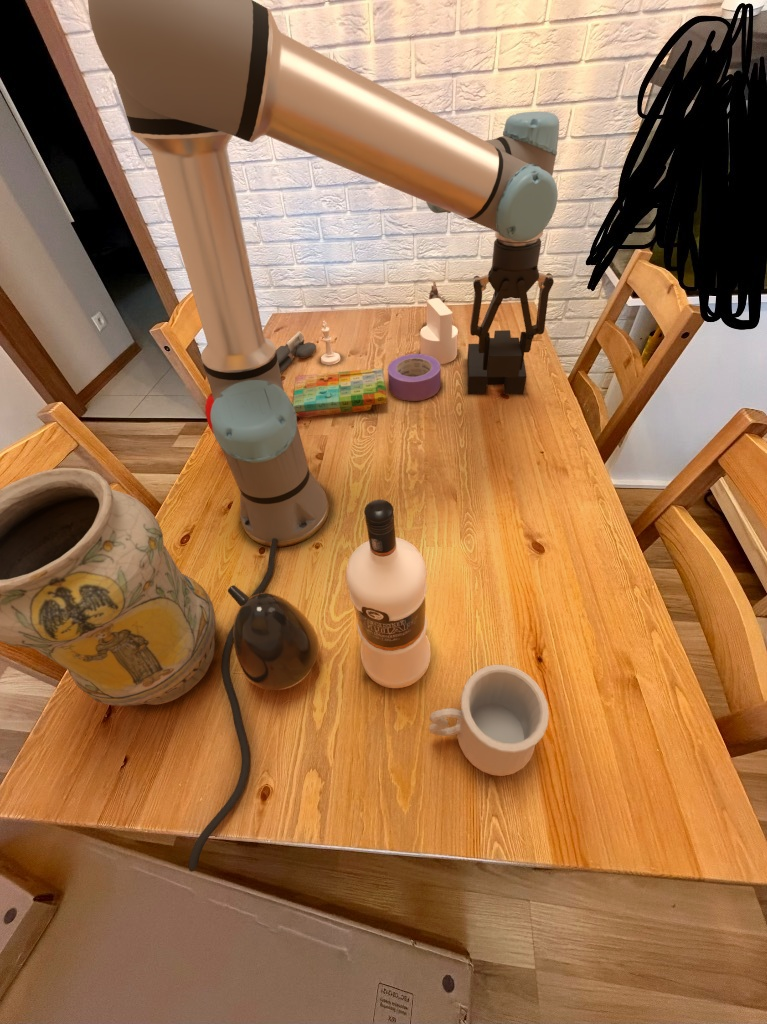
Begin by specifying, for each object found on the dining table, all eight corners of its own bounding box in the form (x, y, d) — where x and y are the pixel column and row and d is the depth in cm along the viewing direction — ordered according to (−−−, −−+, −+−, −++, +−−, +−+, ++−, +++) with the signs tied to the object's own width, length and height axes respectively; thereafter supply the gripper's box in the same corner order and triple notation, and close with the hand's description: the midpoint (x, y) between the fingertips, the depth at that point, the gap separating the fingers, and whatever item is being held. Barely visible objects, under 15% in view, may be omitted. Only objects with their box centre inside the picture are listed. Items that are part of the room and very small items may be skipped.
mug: (523, 694, 58) (537, 660, 50) (542, 775, 52) (561, 750, 44) (425, 700, 58) (424, 667, 51) (432, 781, 52) (433, 757, 45)
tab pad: (518, 377, 89) (521, 355, 86) (486, 377, 90) (489, 356, 87) (514, 350, 96) (517, 329, 92) (485, 351, 97) (487, 330, 93)
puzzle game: (294, 373, 104) (382, 364, 104) (298, 391, 107) (384, 382, 107) (291, 403, 96) (386, 393, 96) (296, 421, 100) (387, 412, 99)
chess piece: (318, 363, 115) (310, 325, 108) (325, 353, 118) (318, 315, 111) (336, 365, 114) (330, 326, 107) (343, 355, 117) (337, 317, 110)
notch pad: (523, 394, 100) (526, 376, 97) (467, 394, 102) (469, 376, 99) (518, 360, 110) (521, 343, 106) (467, 361, 111) (468, 343, 108)
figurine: (422, 335, 121) (421, 289, 112) (426, 323, 125) (426, 277, 116) (446, 336, 120) (447, 289, 111) (450, 324, 124) (451, 278, 115)
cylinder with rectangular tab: (415, 350, 116) (414, 302, 107) (448, 342, 118) (449, 295, 109) (428, 367, 110) (428, 318, 101) (462, 359, 112) (465, 310, 103)
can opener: (300, 345, 122) (296, 327, 118) (320, 350, 120) (317, 331, 116) (256, 383, 111) (250, 364, 107) (277, 389, 109) (272, 369, 105)
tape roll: (385, 376, 109) (383, 357, 105) (433, 369, 110) (433, 350, 106) (393, 405, 101) (392, 385, 97) (445, 397, 102) (446, 377, 98)
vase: (114, 757, 56) (-91, 647, 34) (89, 645, 67) (-80, 506, 45) (250, 674, 62) (151, 534, 40) (208, 583, 73) (110, 432, 50)
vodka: (441, 642, 63) (448, 489, 41) (411, 704, 58) (401, 566, 36) (382, 615, 67) (359, 460, 44) (349, 671, 61) (304, 527, 39)
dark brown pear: (287, 615, 68) (259, 553, 56) (338, 656, 63) (319, 597, 52) (232, 668, 63) (190, 612, 52) (283, 717, 58) (249, 667, 47)
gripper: (458, 249, 73) (453, 377, 91) (583, 244, 71) (553, 376, 88) (459, 233, 78) (453, 357, 96) (575, 227, 76) (548, 356, 93)
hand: (501, 366), depth 92 cm, fingers closed on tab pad, 6 cm apart
